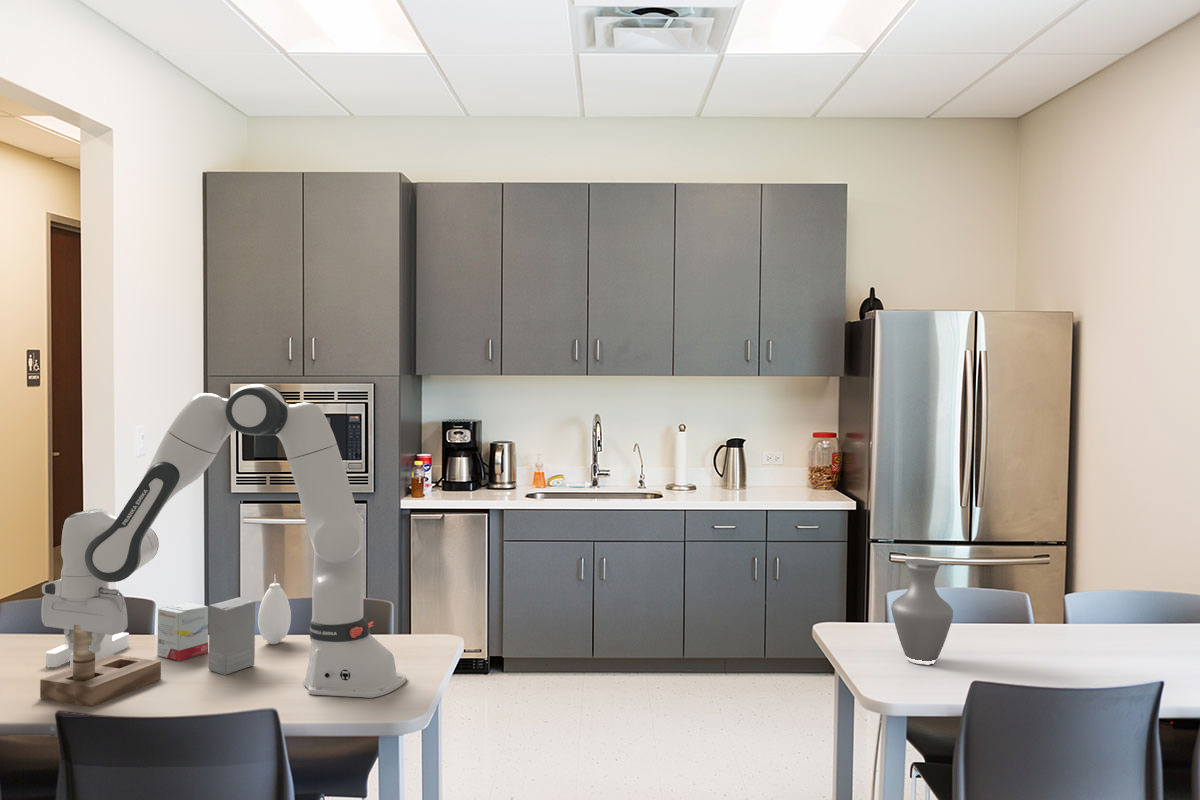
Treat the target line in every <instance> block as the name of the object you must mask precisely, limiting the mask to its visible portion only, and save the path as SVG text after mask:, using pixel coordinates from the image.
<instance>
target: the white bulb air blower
mask: <svg viewBox="0 0 1200 800" xmlns="http://www.w3.org/2000/svg"><path fill="white" fill-rule="evenodd" d="M273 576H274V577H273V582H272V583H270V584H269V586H268V587H269V588H268V589H267V590H266V592H265V593H264V596H263V597H262V600H261V603H260V606H259V609H258V615H257V626H258V631H259V634H260V636H261V637H262V639H263V640H265V641H266V642H267V643H268V644H270V645H278V644H279V643H280V642H282V641H283V639H285V638H286V637H287V636H288V635H287V634H288V633H289V631H290V628H291V622H292V621H291V620H292V611H291V606H290V602H289V600H288V599H289V598H288V596H287V594H286V593H285V591H284V589H283V588H282V587H281V584H280V583H278V582H277V578H276V577H277V575H276V574H274V575H273Z"/></svg>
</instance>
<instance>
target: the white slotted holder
mask: <svg viewBox="0 0 1200 800" xmlns="http://www.w3.org/2000/svg"><path fill="white" fill-rule="evenodd" d="M64 639H65V640H64V641H65V642H64V644H62V645H59V646H57V647H54V648H53V649H50V650H47V651H46V652H45V667H46V666H47V667H46V668H49V667H56V668H58V667H60V666H59V665H61V664H63V663H65V662H67V663H69V665H70V666H69V668H70V669H72V668H73V650H69V642H68V641H67V638H66V636H65V635H64ZM129 641H130V633H129V632H121V633H118V634H115V635H108V634H105V637H104V638H103V640H102V642H101V643H100V651H99V652H96V653H95V660H98V659H101V658H104V657H107V656H110V655H116V654H117V653H119V652H121V651H123V650H126V649H127V648H129V647H130V646H129V645H130V642H129ZM68 661H70V662H68ZM65 664H66V663H65ZM63 665H64V664H63ZM48 666H49V667H48ZM57 666H58V667H57ZM61 666H62V665H61Z"/></svg>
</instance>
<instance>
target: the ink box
mask: <svg viewBox="0 0 1200 800" xmlns="http://www.w3.org/2000/svg"><path fill="white" fill-rule="evenodd" d="M156 651H157V652H156V654H157V655H156V656H158V657H163V658H166V659H170V660H174V661H178V662H179V661H180V662H181V661H185V660H188V659H191V658H194V657H197V656H201V655H204V654H209V605H202V604H197V603H193V602H188V601H187V602H185V603H179V604H178V603H177V604H174V605H169V606H166V607H165V606H164V607H160V608H158V609H157V650H156Z"/></svg>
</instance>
